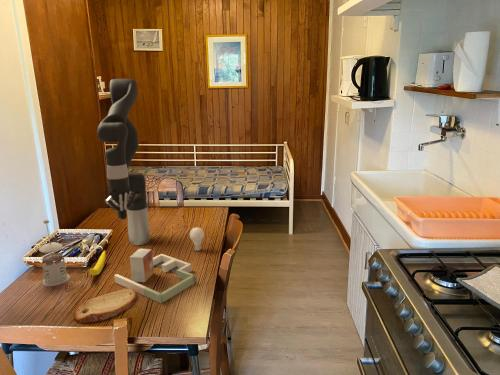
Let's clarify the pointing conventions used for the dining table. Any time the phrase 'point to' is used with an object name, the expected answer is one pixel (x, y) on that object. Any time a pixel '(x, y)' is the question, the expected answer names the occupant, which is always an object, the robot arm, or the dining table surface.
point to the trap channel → (166, 265)
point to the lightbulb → (197, 237)
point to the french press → (53, 272)
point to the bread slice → (105, 306)
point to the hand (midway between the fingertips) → (122, 218)
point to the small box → (141, 265)
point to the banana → (98, 265)
